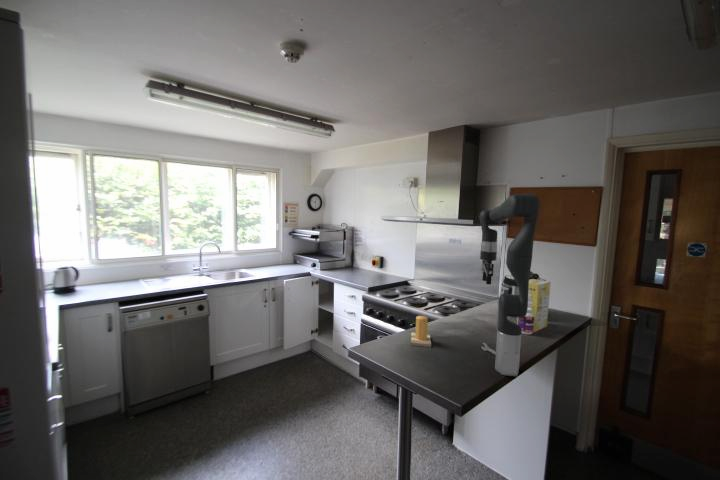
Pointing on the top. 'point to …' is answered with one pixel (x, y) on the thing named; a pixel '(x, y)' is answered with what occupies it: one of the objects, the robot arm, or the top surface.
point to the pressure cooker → (514, 284)
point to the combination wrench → (488, 349)
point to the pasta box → (538, 302)
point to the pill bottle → (527, 322)
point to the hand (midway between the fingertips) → (486, 282)
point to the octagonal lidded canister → (421, 327)
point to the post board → (420, 341)
